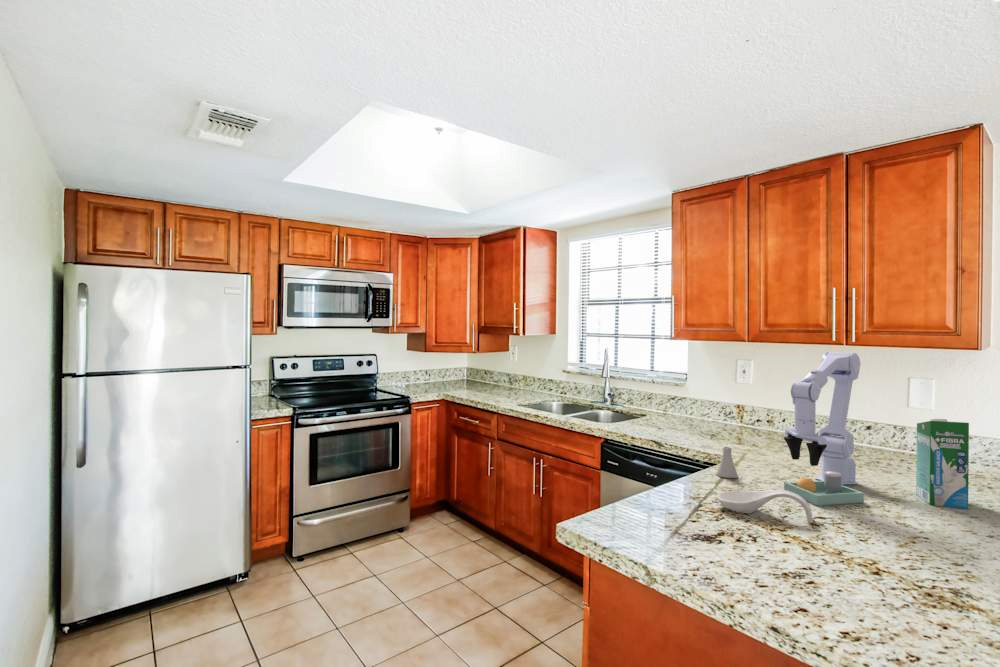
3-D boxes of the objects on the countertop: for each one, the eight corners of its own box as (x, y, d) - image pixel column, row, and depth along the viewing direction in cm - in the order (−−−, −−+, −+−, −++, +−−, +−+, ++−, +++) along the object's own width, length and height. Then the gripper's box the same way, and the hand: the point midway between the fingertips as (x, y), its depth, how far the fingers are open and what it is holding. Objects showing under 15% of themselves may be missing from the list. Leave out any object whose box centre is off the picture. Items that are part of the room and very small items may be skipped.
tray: (828, 489, 162) (828, 480, 162) (863, 503, 149) (863, 492, 149) (784, 491, 159) (784, 482, 159) (816, 505, 146) (817, 495, 146)
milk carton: (952, 499, 153) (952, 417, 153) (968, 509, 144) (969, 422, 144) (916, 495, 156) (916, 415, 156) (930, 505, 147) (930, 420, 147)
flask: (740, 479, 172) (741, 450, 172) (718, 478, 173) (718, 449, 173) (735, 473, 179) (735, 445, 179) (713, 472, 180) (713, 444, 180)
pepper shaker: (835, 493, 157) (834, 470, 157) (845, 497, 152) (844, 474, 152) (821, 493, 157) (821, 470, 157) (830, 497, 152) (830, 474, 152)
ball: (798, 496, 155) (791, 484, 159) (813, 499, 155) (806, 486, 159) (806, 485, 152) (799, 473, 156) (822, 488, 152) (814, 476, 157)
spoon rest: (714, 512, 141) (714, 487, 141) (718, 500, 151) (719, 476, 151) (813, 529, 129) (814, 501, 129) (811, 514, 139) (811, 489, 139)
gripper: (777, 416, 166) (777, 457, 166) (812, 424, 151) (811, 469, 152) (795, 415, 167) (795, 456, 167) (832, 423, 153) (831, 467, 153)
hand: (804, 462), depth 159 cm, fingers open, 7 cm apart
